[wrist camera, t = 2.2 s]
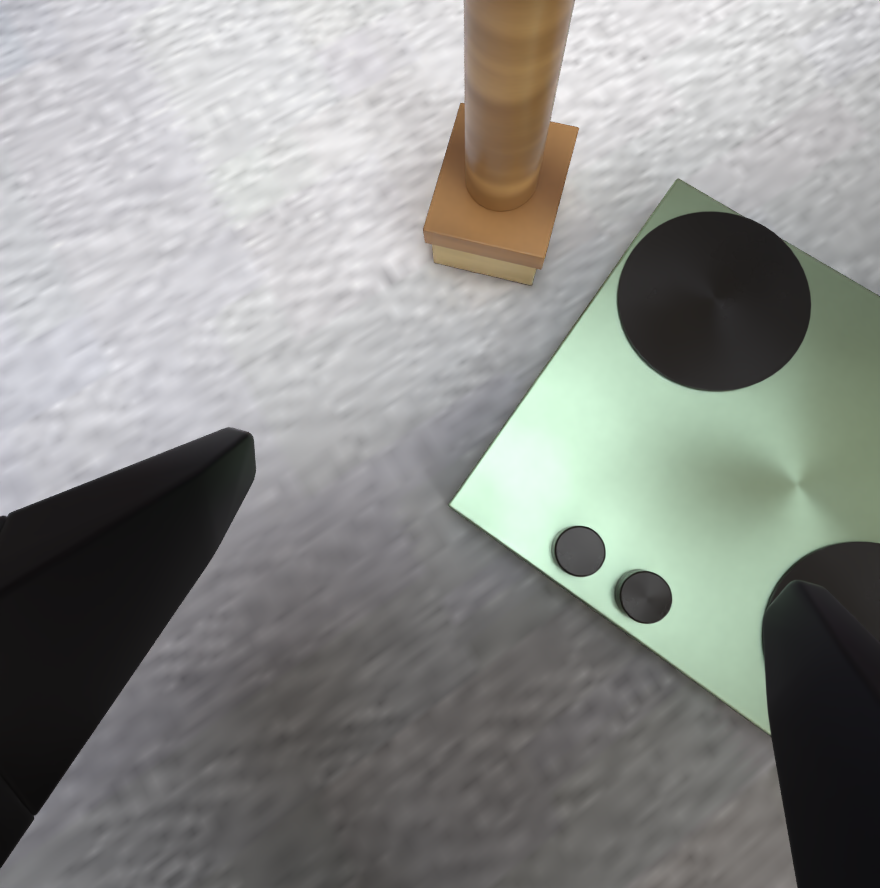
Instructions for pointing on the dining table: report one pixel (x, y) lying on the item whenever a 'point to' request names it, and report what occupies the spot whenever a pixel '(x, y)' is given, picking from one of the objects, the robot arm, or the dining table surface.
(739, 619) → the hob
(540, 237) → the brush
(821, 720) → the robot arm
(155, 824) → the dining table surface
